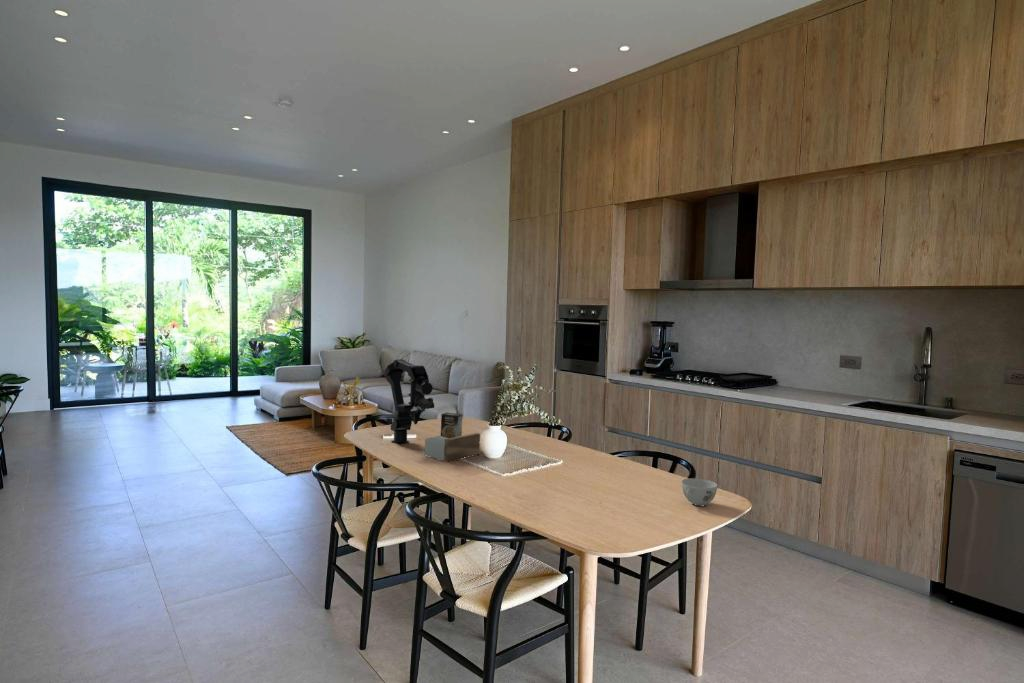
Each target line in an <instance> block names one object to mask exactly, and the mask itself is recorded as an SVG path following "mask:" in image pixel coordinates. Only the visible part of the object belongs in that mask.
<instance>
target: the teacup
mask: <svg viewBox="0 0 1024 683" xmlns="http://www.w3.org/2000/svg"><path fill="white" fill-rule="evenodd" d="M681 489H682V492H683V494H684V496H685V498H686V499H687V501H688V502H689V503H690V502H691V503H692V504H696V505H706V506H708V504H710V503H711V502H713V500H714V498H715V497H716V494H717V491H718V483H716V482H714V481H712V480H709V479H704V478H703V479H702V478H691V477H690V478H684V479H682V480H681ZM691 503H690V504H691ZM692 504H691V505H692Z"/></svg>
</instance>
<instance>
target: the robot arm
mask: <svg viewBox="0 0 1024 683" xmlns="http://www.w3.org/2000/svg"><path fill="white" fill-rule="evenodd" d="M404 372H406V373H407V375H408V376H409V377H410V379H408V381H409V382H410V393H408V397H409V396H410V399H409V400H410V401H408V403H407V404H406V403H405V401H404V395H403V389H402V385H401V381H402V378H403V374H404ZM384 376H385V379H386V381H387V382H388V384H390V387H391V388H390V389H391V393H392V394H391V395H392V398H393V404H394V409H395V410H394V411H395V413H394V415H393V421H392V423H391V424H390V430H391V431H393V439H392V440H391V443H394V444H398V445H403V444H405V443H406V442H407V443H409V442H410V441H409V440H408V431H410V430H411V428H412V423H413V424H414V425H418V422H419V420H420V417H421V415H422V413H423V412H425V411H426V410H429V409H435V403H434V399H433V397H428V398H426V397H425V396H426V395H430V394H431V393H432V392H433V384H432V383H431V382H430V379H429V375H428V372H427V370H426V368H425V366H424V365H421V364H420V365H419V364H413V363H411V362H408V361H406V359H395V360H393V361H392V362H391V363H390V364H388V365H387V366H386V367H385V369H384Z"/></svg>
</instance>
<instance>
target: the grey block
mask: <svg viewBox="0 0 1024 683" xmlns="http://www.w3.org/2000/svg"><path fill="white" fill-rule="evenodd" d="M445 439H448V438H446V437H442V436H441V435H439V436H433V437H427V438H425V439H424V456H425V455H427V456H426V457H428V456H430V457H429V458H431V457H433V458H432V459H434V458H436V459H435V460H438V459H440V460H439V461H441V460H443V461H442V462H445V461H444V444H445Z"/></svg>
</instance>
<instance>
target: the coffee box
mask: <svg viewBox="0 0 1024 683" xmlns="http://www.w3.org/2000/svg"><path fill="white" fill-rule="evenodd" d="M440 417H441V419H440V420H441V421H440V422H441V423H440V436H442V437H446V438H453V437H458V436H463V435H462V434H463V417H464V416H463V414H462V413H457V412H456V413H455V412H448V411H447V412H443V413H441V416H440Z"/></svg>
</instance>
